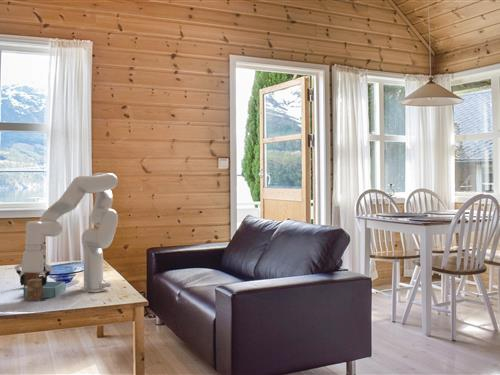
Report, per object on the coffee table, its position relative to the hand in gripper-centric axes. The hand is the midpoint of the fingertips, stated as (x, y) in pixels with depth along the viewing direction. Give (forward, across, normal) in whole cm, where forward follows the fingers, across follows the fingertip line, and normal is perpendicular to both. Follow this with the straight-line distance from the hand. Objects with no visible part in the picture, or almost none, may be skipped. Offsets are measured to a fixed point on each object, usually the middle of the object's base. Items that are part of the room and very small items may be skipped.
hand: (33, 285), depth 234 cm
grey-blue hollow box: (+8, -1, -1) cm, 8 cm away
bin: (+7, -1, -12) cm, 14 cm away
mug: (+7, +12, -30) cm, 33 cm away
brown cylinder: (+7, -1, -1) cm, 7 cm away
